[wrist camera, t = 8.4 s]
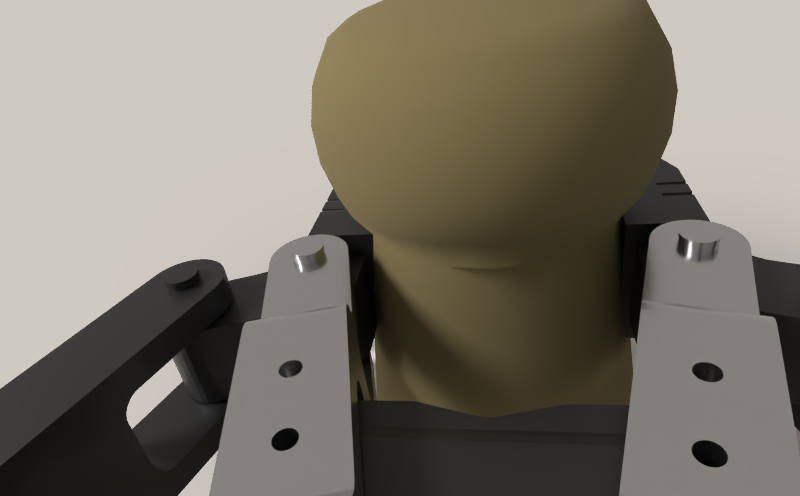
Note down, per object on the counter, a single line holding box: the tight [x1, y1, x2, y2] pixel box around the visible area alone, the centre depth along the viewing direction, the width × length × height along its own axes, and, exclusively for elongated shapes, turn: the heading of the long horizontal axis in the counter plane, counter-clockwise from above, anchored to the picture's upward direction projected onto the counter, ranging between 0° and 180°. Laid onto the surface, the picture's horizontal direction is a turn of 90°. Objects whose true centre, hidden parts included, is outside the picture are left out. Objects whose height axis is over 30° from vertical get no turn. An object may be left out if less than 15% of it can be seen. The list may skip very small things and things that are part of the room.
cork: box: [311, 0, 678, 418], centre depth 11 cm, size 6×6×11 cm
